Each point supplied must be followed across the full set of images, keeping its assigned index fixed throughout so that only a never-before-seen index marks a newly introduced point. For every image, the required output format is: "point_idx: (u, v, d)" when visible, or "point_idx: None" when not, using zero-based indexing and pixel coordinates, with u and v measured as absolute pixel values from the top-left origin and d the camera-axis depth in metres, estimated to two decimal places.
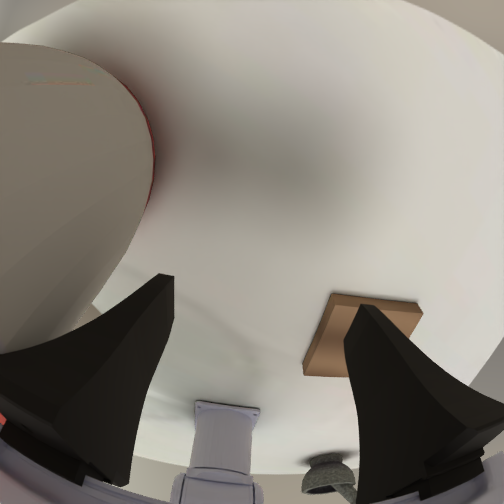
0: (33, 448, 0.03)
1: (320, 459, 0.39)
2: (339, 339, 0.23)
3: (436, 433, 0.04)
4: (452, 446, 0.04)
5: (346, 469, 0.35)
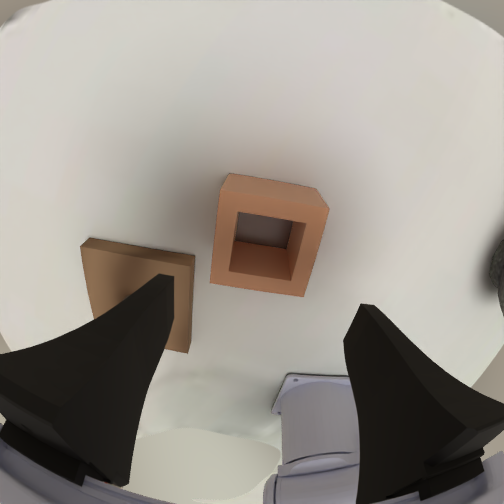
0: (33, 448, 0.03)
1: (494, 278, 0.19)
2: None
3: (436, 433, 0.04)
4: (452, 447, 0.04)
5: None
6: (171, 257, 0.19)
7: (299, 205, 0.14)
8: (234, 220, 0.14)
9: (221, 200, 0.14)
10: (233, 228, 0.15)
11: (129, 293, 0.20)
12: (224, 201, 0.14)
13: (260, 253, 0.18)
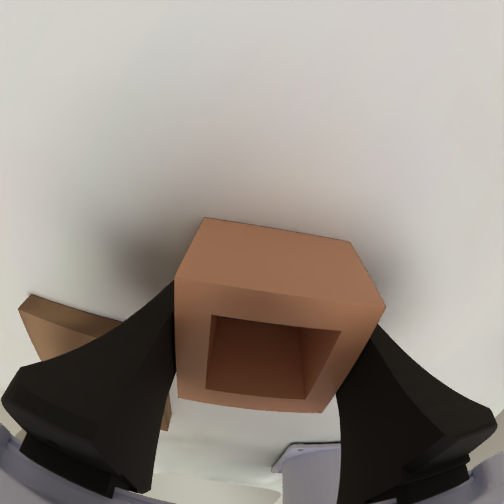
0: (33, 448, 0.03)
1: None
2: None
3: (413, 438, 0.04)
4: (430, 454, 0.04)
5: None
6: None
7: (332, 304, 0.07)
8: (207, 327, 0.07)
9: (179, 295, 0.07)
10: (206, 339, 0.08)
11: None
12: (185, 296, 0.07)
13: (257, 342, 0.11)
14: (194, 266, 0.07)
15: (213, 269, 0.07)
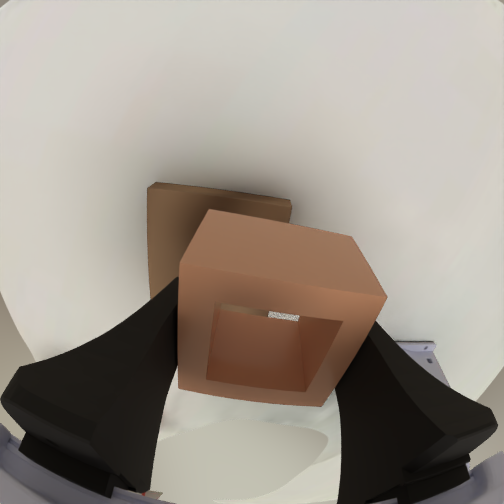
0: (33, 448, 0.03)
1: None
2: None
3: (414, 438, 0.04)
4: (430, 453, 0.04)
5: None
6: (266, 199, 0.17)
7: (334, 293, 0.07)
8: (210, 315, 0.08)
9: (183, 281, 0.07)
10: (209, 327, 0.08)
11: None
12: (189, 283, 0.07)
13: (258, 334, 0.11)
14: (199, 253, 0.07)
15: (218, 256, 0.07)
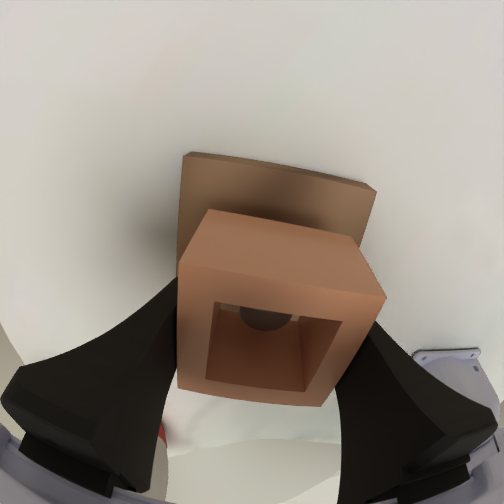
0: (33, 448, 0.03)
1: None
2: None
3: (414, 438, 0.04)
4: (430, 453, 0.04)
5: None
6: (342, 180, 0.13)
7: (334, 293, 0.07)
8: (209, 315, 0.08)
9: (182, 281, 0.07)
10: (208, 326, 0.08)
11: None
12: (188, 282, 0.07)
13: (258, 334, 0.11)
14: (198, 253, 0.07)
15: (217, 256, 0.07)
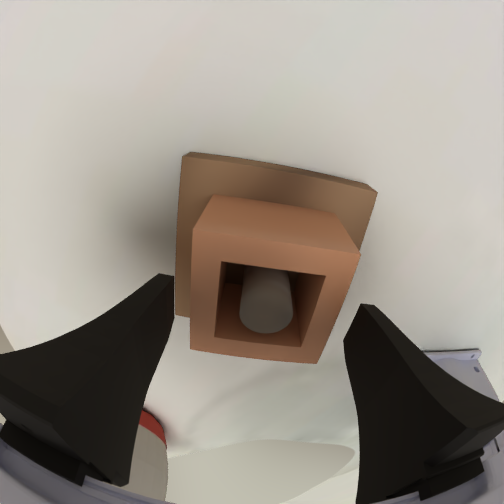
0: (33, 448, 0.03)
1: None
2: None
3: (436, 433, 0.04)
4: (452, 447, 0.04)
5: None
6: (343, 180, 0.13)
7: (316, 251, 0.09)
8: (217, 273, 0.10)
9: (195, 245, 0.09)
10: (216, 284, 0.10)
11: None
12: (200, 246, 0.09)
13: None
14: (207, 223, 0.09)
15: (222, 225, 0.09)
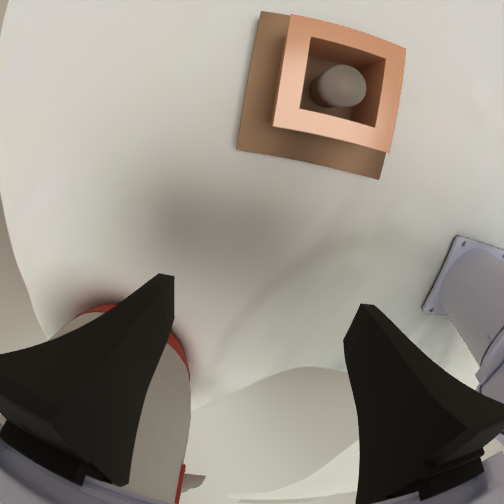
0: (33, 448, 0.03)
1: None
2: (304, 132, 0.15)
3: (436, 433, 0.04)
4: (452, 446, 0.04)
5: None
6: None
7: (376, 39, 0.09)
8: (307, 45, 0.09)
9: (292, 24, 0.09)
10: (306, 54, 0.10)
11: (323, 73, 0.13)
12: (295, 25, 0.09)
13: None
14: None
15: None
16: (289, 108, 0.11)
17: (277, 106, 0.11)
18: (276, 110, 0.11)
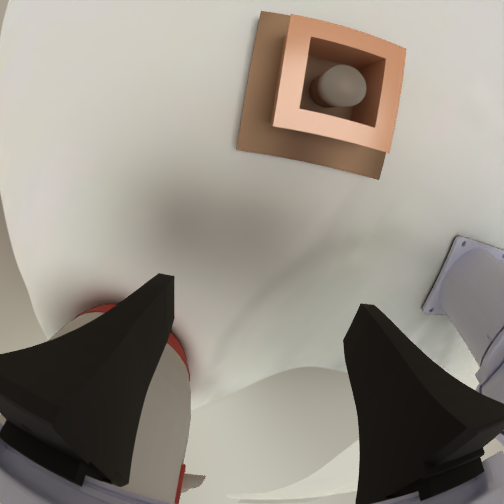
0: (33, 448, 0.03)
1: None
2: (304, 132, 0.15)
3: (436, 433, 0.04)
4: (452, 447, 0.04)
5: None
6: None
7: (376, 39, 0.09)
8: (307, 45, 0.09)
9: (292, 24, 0.09)
10: (306, 54, 0.10)
11: (323, 73, 0.13)
12: (295, 25, 0.09)
13: None
14: None
15: None
16: (289, 108, 0.11)
17: (277, 106, 0.11)
18: (276, 110, 0.11)
